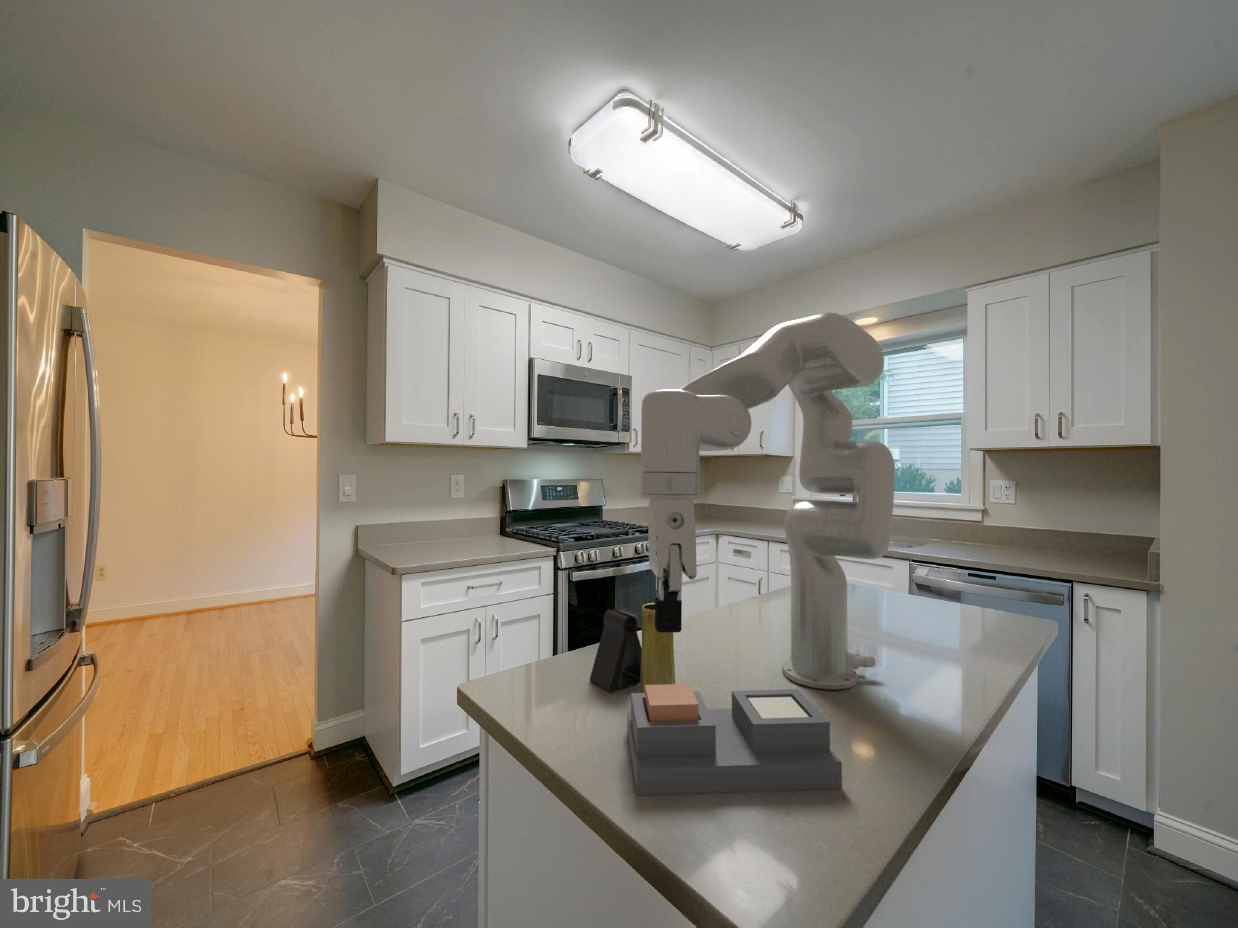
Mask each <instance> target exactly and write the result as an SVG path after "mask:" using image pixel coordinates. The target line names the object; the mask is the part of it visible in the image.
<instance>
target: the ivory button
mask: <svg viewBox="0 0 1238 928" xmlns="http://www.w3.org/2000/svg"><path fill="white" fill-rule="evenodd" d="M748 700H749V702H750V703H751V705H752V706H753V708H754V709H755V710H756V712H757V713H758V715H759V716H760V718H794V717H809V716H808V715H807V714H806V713H805V712H804V711H803V710H802V709H801V707H800V706H799V705H798V704H797V703H796V702H795V701H794V700H793V698H792V697H763V698H748Z"/></svg>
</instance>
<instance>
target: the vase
mask: <svg viewBox="0 0 1238 928" xmlns="http://www.w3.org/2000/svg"><path fill="white" fill-rule="evenodd" d="M641 607H642V608H641V648H642V658H641V675H640V684H639V689H638V690H639V693H645V685H666V684H676V671H675V667H676V665H675V649H674V632H661V633H659V632H657V630H656V628H655V602H650V603H646V604H643V605H642V606H641Z"/></svg>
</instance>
